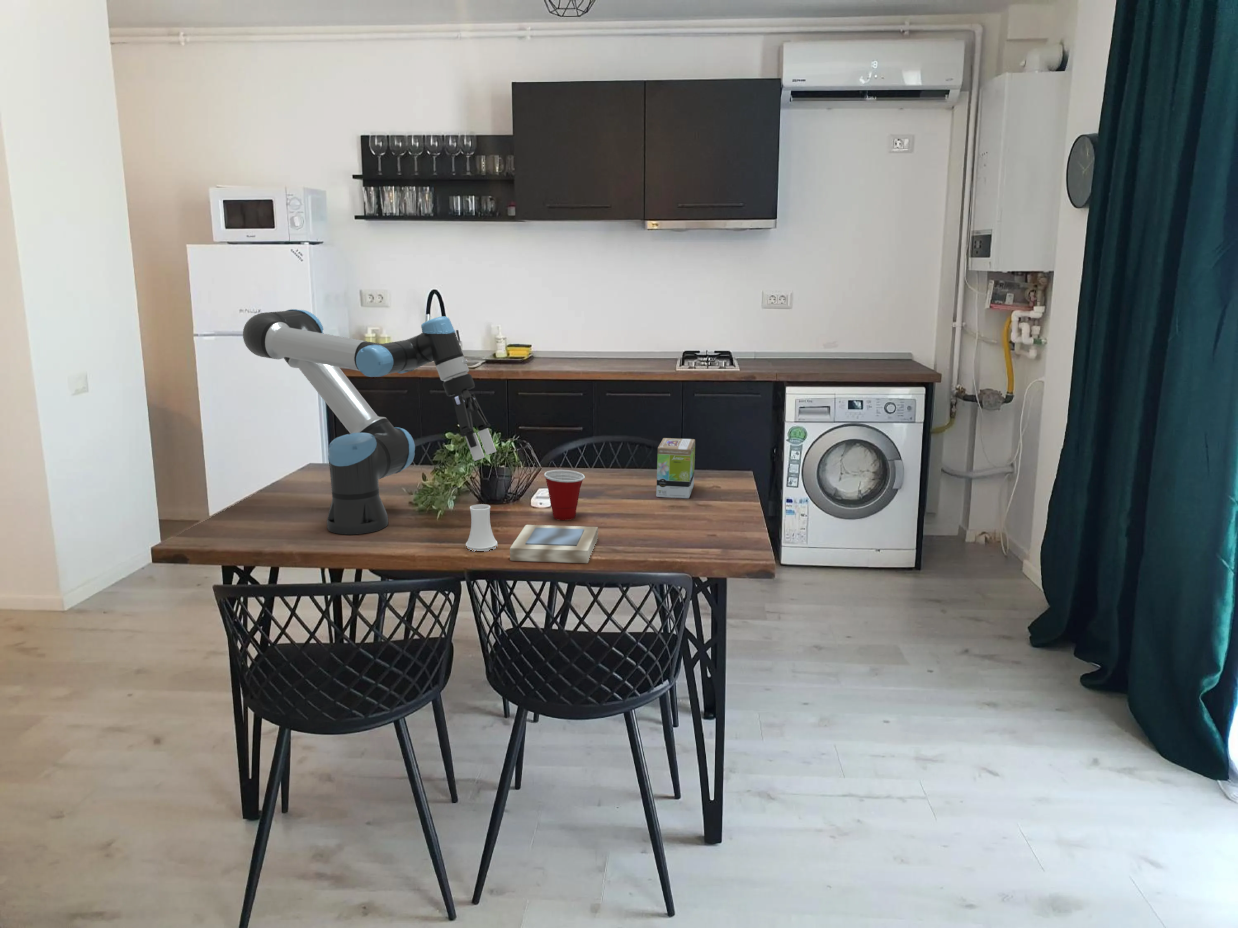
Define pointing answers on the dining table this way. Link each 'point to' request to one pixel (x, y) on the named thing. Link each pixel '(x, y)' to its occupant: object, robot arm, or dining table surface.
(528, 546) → the plinth
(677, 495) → the tea box
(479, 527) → the white flared tube
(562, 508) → the plastic cup
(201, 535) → the dining table surface
